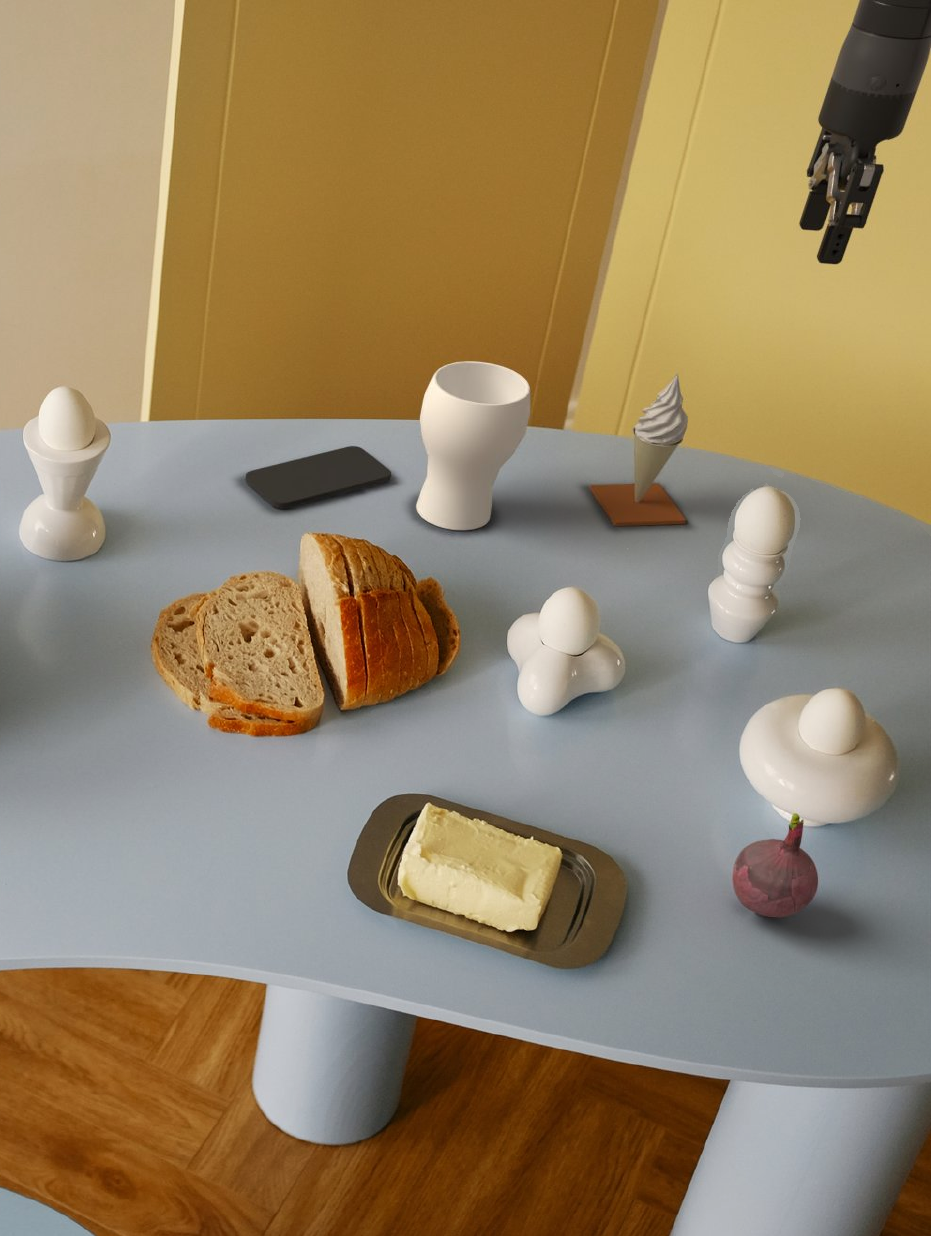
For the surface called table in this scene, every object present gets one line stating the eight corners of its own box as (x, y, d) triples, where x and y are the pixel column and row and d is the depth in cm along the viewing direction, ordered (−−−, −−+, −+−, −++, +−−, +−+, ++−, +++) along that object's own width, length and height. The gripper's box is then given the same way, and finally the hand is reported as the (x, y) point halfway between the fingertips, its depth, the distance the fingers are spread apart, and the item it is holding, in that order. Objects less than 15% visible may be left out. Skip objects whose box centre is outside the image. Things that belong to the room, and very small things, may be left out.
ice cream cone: (655, 519, 173) (696, 389, 163) (607, 505, 175) (644, 376, 165) (667, 498, 176) (708, 369, 167) (620, 484, 178) (657, 357, 169)
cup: (402, 533, 171) (428, 402, 162) (401, 481, 179) (426, 354, 170) (507, 543, 170) (539, 412, 160) (501, 491, 178) (532, 363, 168)
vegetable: (800, 896, 130) (844, 802, 124) (800, 950, 126) (845, 855, 120) (720, 877, 132) (758, 783, 126) (716, 928, 128) (756, 834, 121)
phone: (241, 472, 179) (357, 443, 184) (240, 479, 179) (355, 450, 184) (278, 505, 174) (396, 474, 178) (277, 512, 174) (395, 481, 179)
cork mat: (657, 487, 179) (658, 483, 179) (685, 524, 173) (686, 520, 173) (589, 489, 178) (590, 485, 178) (614, 526, 173) (616, 522, 172)
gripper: (938, 106, 148) (874, 278, 159) (899, 57, 159) (842, 221, 170) (850, 101, 149) (793, 271, 160) (817, 52, 160) (766, 215, 170)
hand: (818, 245), depth 165 cm, fingers open, 8 cm apart
